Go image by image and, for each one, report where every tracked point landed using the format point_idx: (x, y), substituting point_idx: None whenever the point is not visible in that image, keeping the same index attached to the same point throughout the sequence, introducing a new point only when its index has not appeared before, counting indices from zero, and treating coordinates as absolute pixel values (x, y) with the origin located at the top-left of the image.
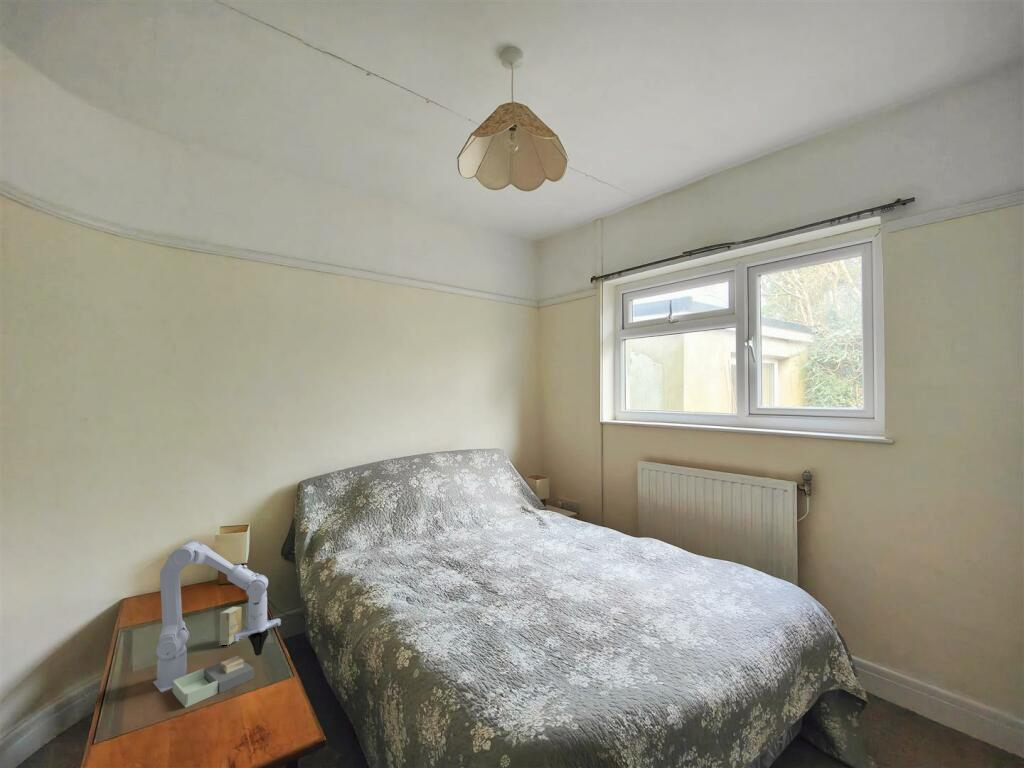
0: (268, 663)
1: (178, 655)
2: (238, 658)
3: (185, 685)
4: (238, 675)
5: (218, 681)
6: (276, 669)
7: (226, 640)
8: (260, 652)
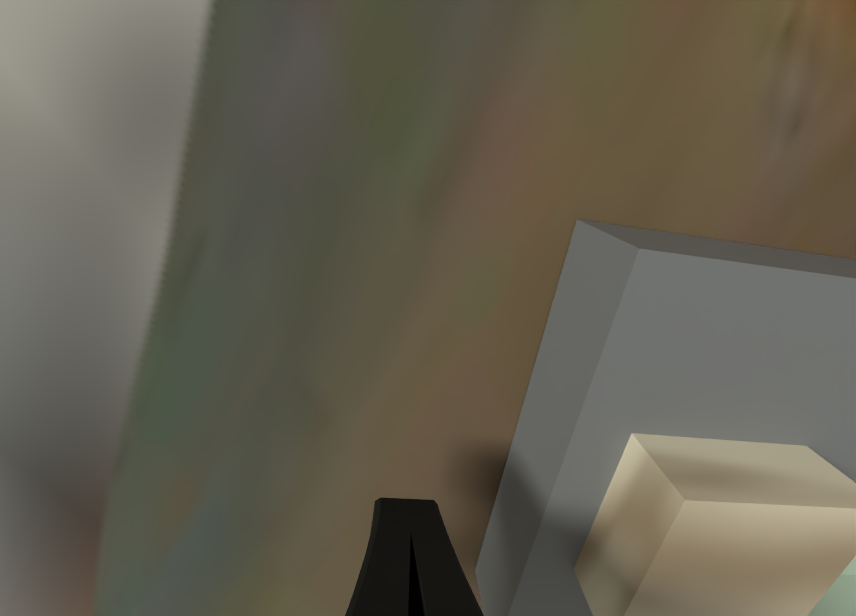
0: (306, 380)
1: None
2: (665, 587)
3: (839, 578)
4: (832, 274)
5: None
6: (321, 150)
7: None
8: (394, 520)
